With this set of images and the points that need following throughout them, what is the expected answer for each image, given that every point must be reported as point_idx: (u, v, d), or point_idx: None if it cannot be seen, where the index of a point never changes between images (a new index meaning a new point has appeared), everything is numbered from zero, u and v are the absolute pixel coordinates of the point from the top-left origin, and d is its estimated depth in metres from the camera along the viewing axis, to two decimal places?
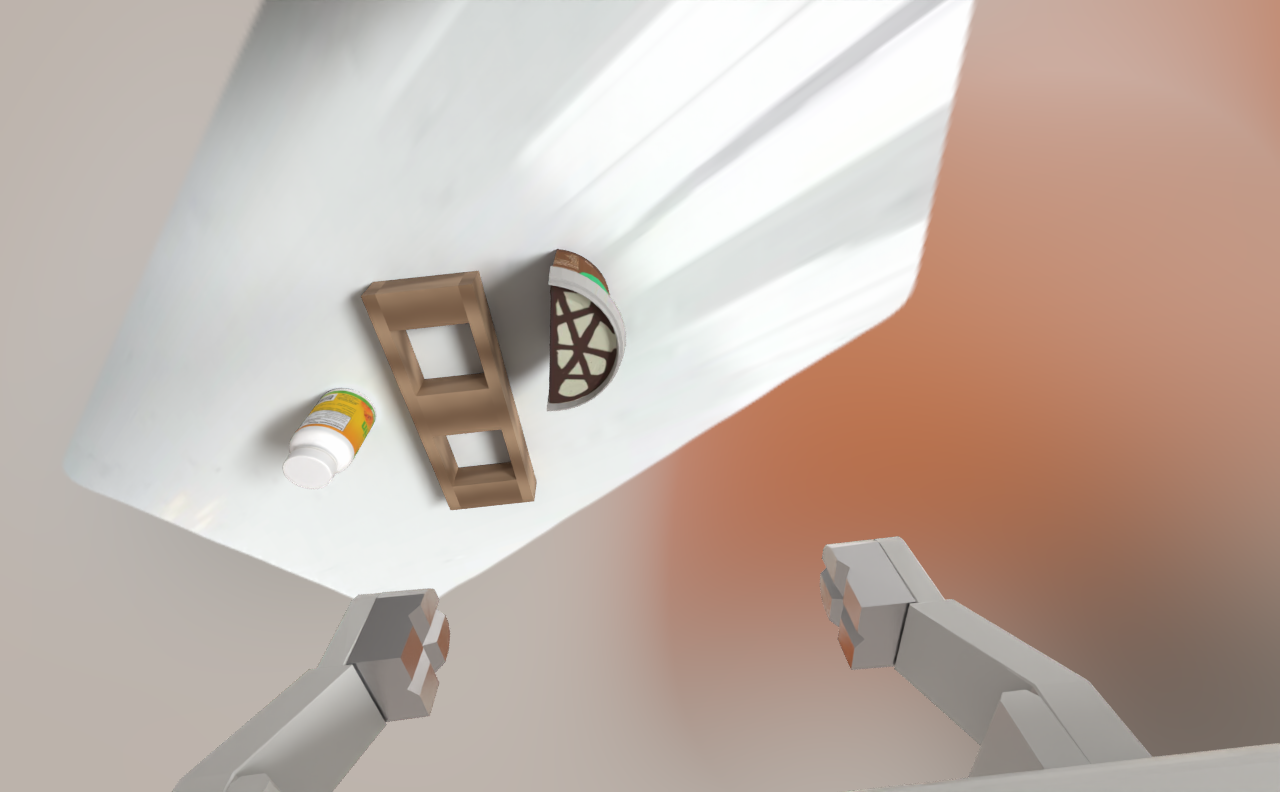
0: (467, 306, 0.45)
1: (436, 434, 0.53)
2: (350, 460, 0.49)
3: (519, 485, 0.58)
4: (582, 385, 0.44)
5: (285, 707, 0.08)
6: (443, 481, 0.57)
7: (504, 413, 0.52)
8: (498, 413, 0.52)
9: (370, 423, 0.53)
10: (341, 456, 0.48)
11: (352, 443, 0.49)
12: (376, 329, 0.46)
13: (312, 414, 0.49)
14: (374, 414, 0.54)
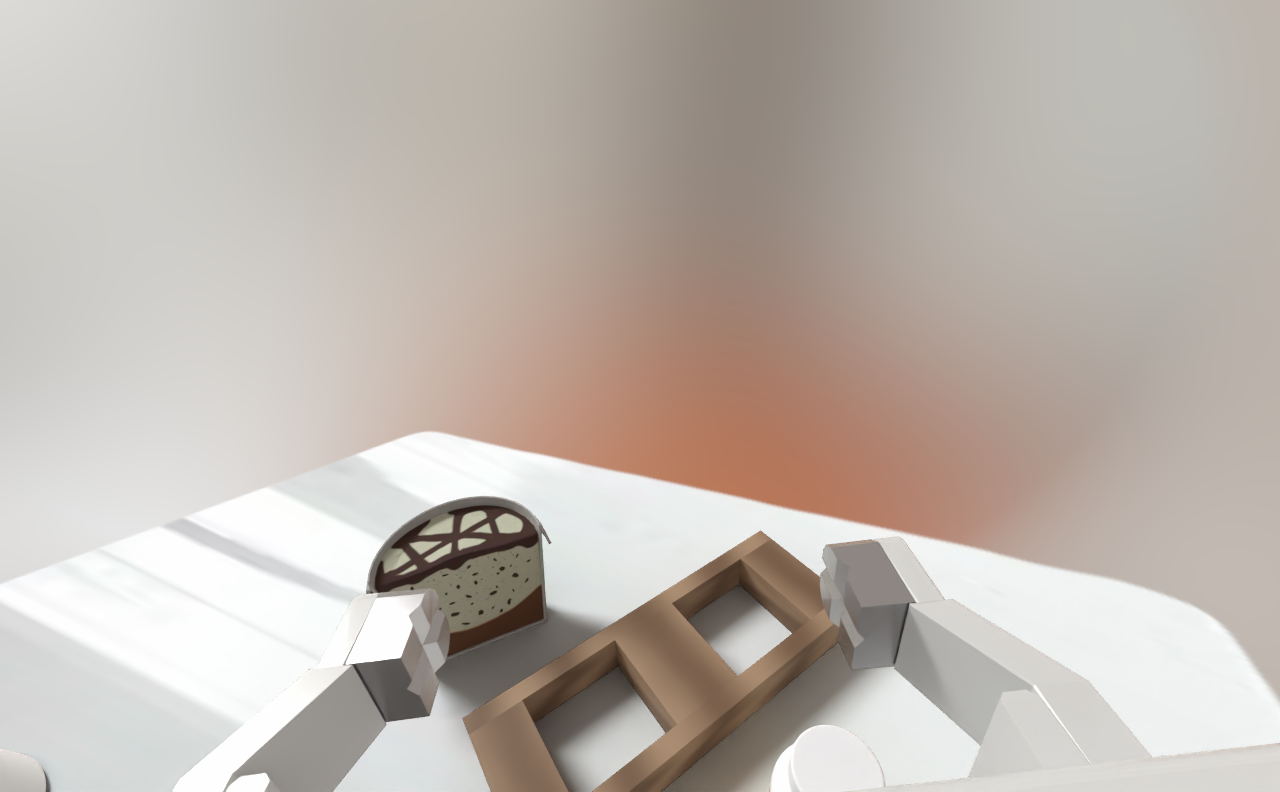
0: (497, 711, 0.33)
1: (729, 672, 0.34)
2: None
3: (747, 552, 0.43)
4: (503, 518, 0.39)
5: (285, 707, 0.08)
6: (809, 633, 0.36)
7: (645, 608, 0.39)
8: (648, 615, 0.38)
9: None
10: None
11: None
12: None
13: None
14: None
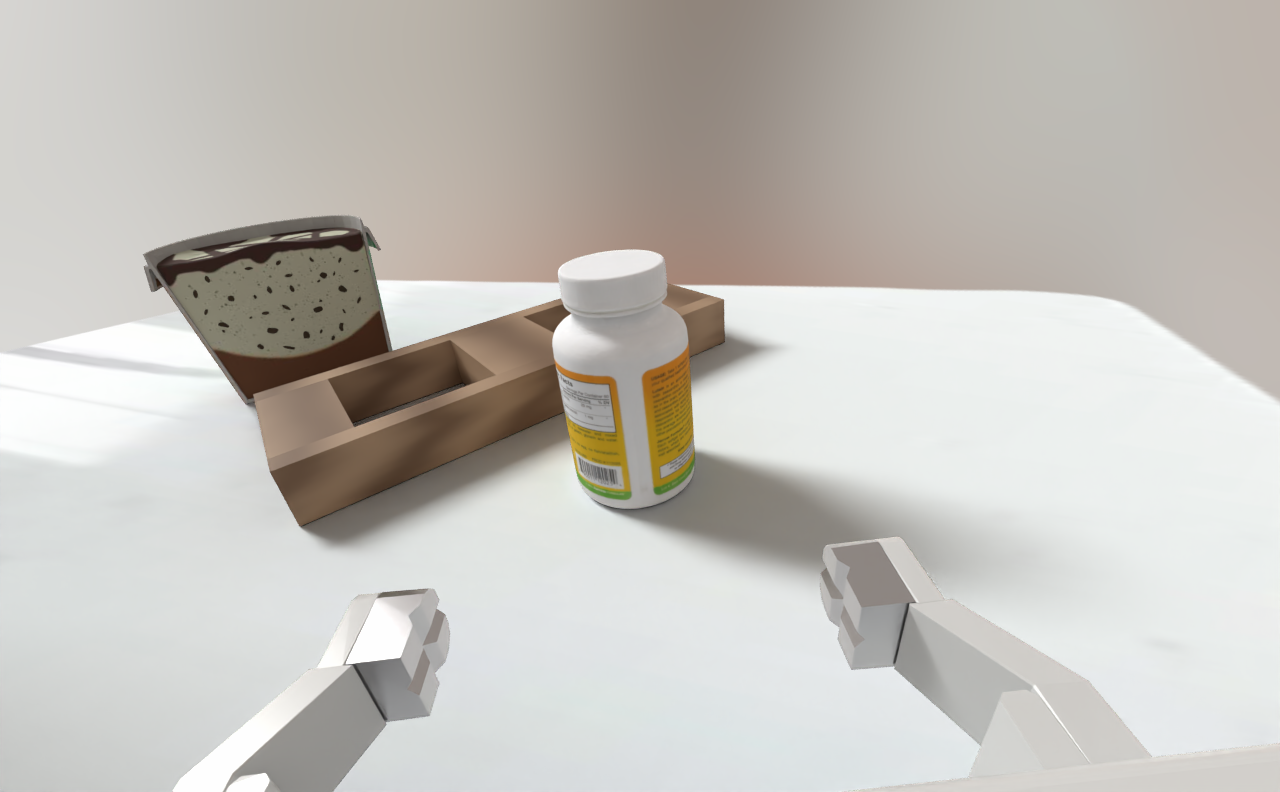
0: (295, 387, 0.29)
1: None
2: None
3: None
4: (329, 232, 0.35)
5: (285, 707, 0.08)
6: None
7: (492, 322, 0.35)
8: (494, 324, 0.34)
9: None
10: None
11: None
12: (351, 439, 0.23)
13: (584, 420, 0.20)
14: None
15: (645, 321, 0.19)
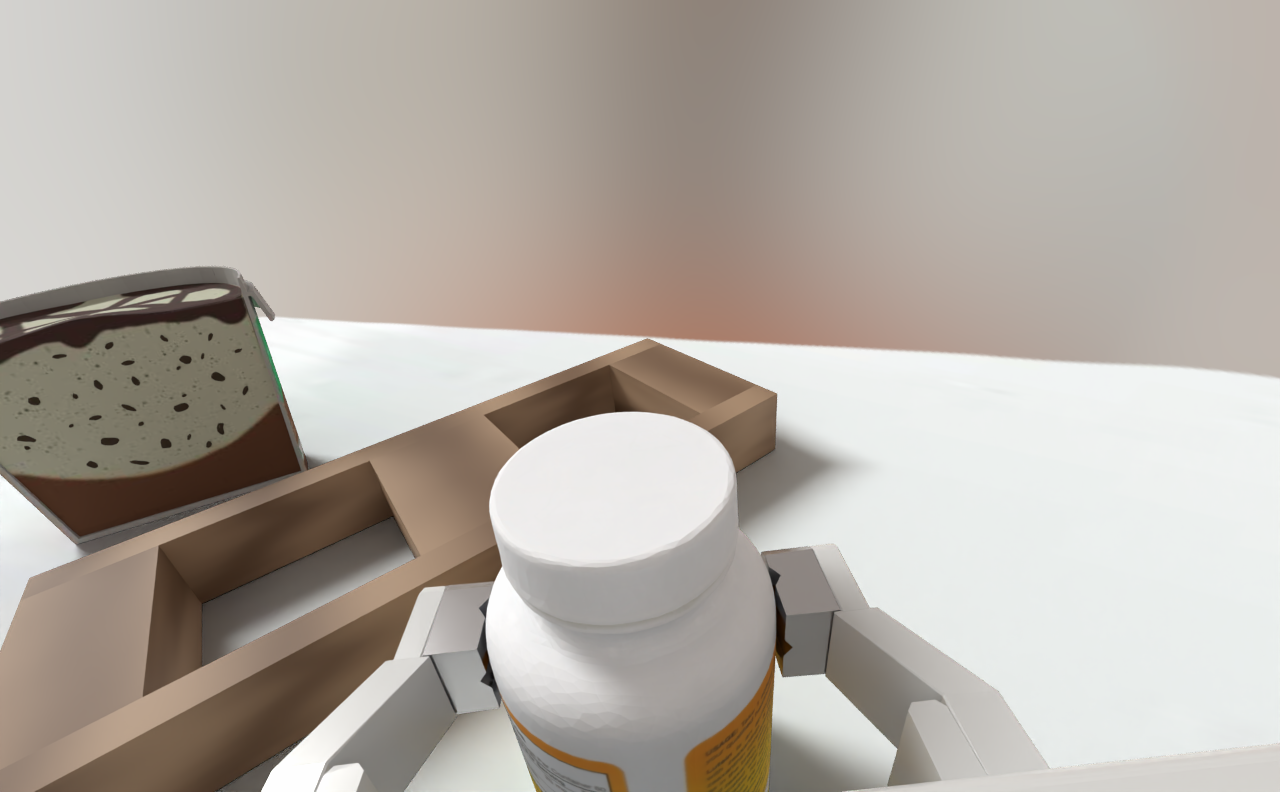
0: (101, 563, 0.18)
1: None
2: None
3: (621, 358, 0.28)
4: (203, 291, 0.24)
5: (368, 698, 0.08)
6: None
7: (438, 423, 0.24)
8: (439, 430, 0.23)
9: None
10: None
11: None
12: (122, 740, 0.12)
13: None
14: None
15: (693, 620, 0.08)
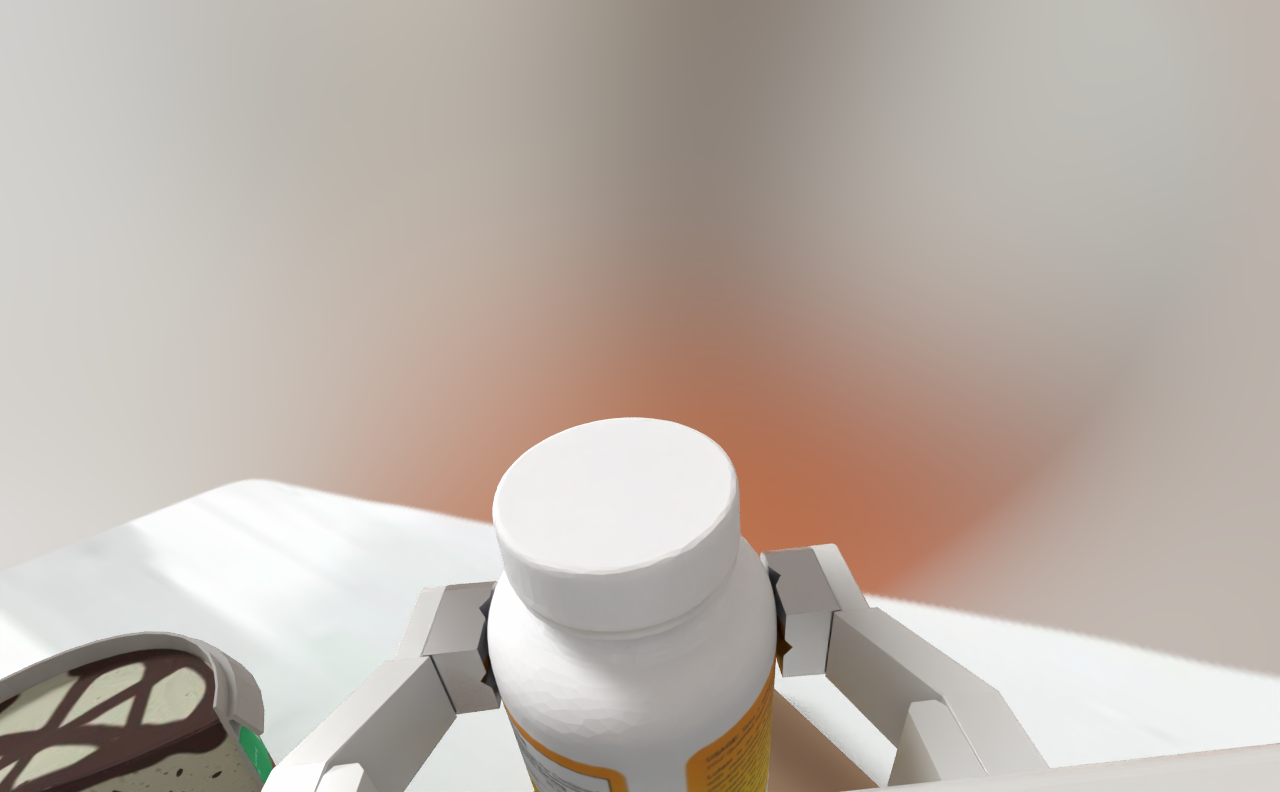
0: None
1: None
2: None
3: None
4: (172, 681, 0.19)
5: (368, 698, 0.08)
6: None
7: None
8: None
9: None
10: None
11: None
12: None
13: None
14: None
15: (694, 625, 0.08)
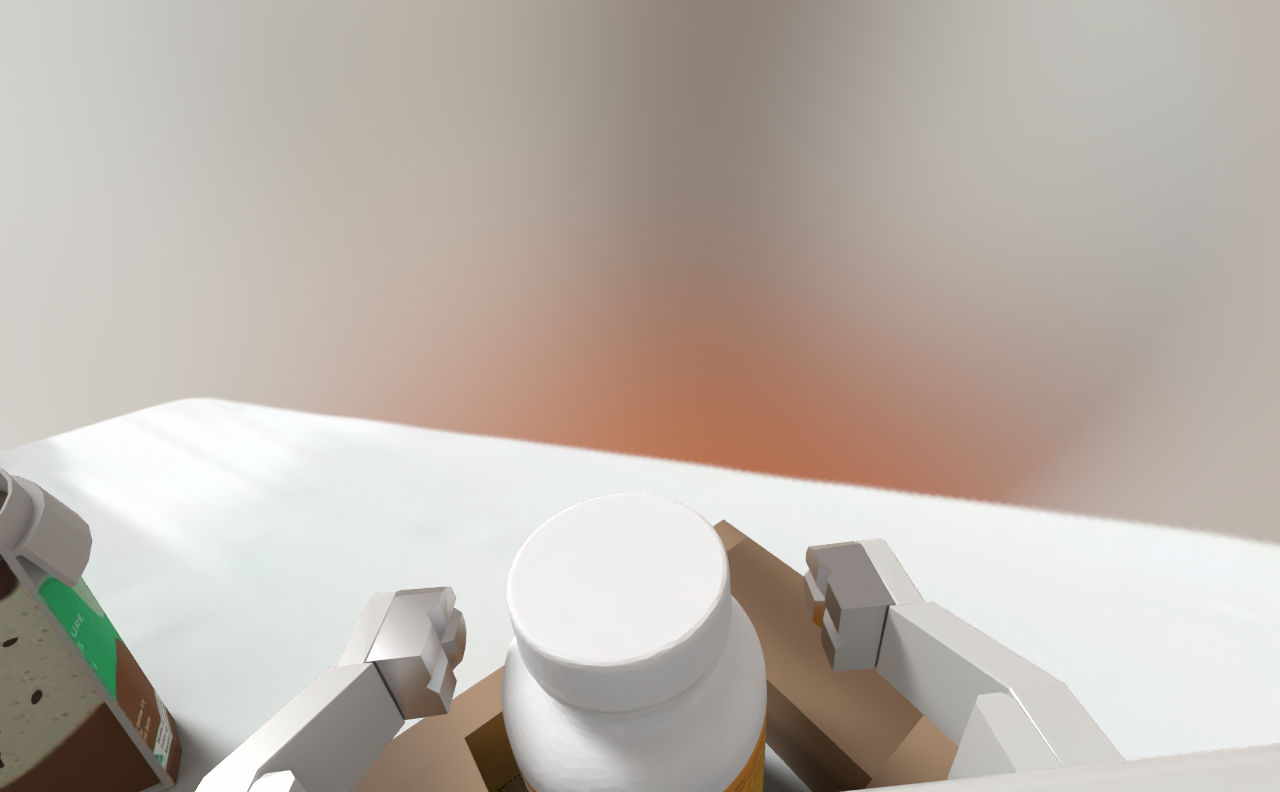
0: None
1: None
2: None
3: None
4: None
5: (307, 705, 0.08)
6: None
7: (382, 762, 0.13)
8: (382, 787, 0.13)
9: None
10: None
11: None
12: None
13: None
14: None
15: (690, 698, 0.09)
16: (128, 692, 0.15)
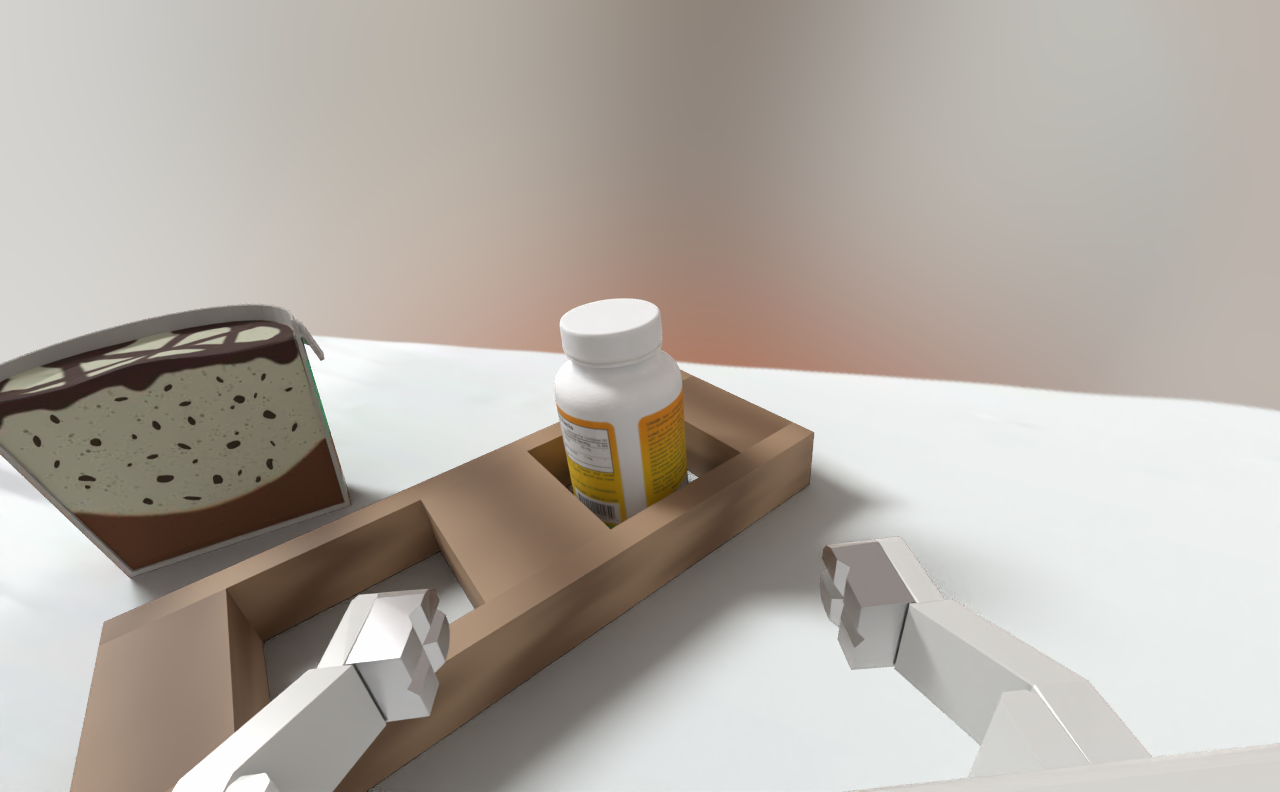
0: (172, 607, 0.18)
1: (597, 525, 0.20)
2: None
3: None
4: (253, 330, 0.25)
5: (285, 707, 0.08)
6: (738, 468, 0.22)
7: (483, 460, 0.24)
8: (485, 467, 0.24)
9: None
10: None
11: None
12: None
13: (584, 461, 0.21)
14: None
15: (641, 370, 0.20)
16: (332, 439, 0.26)
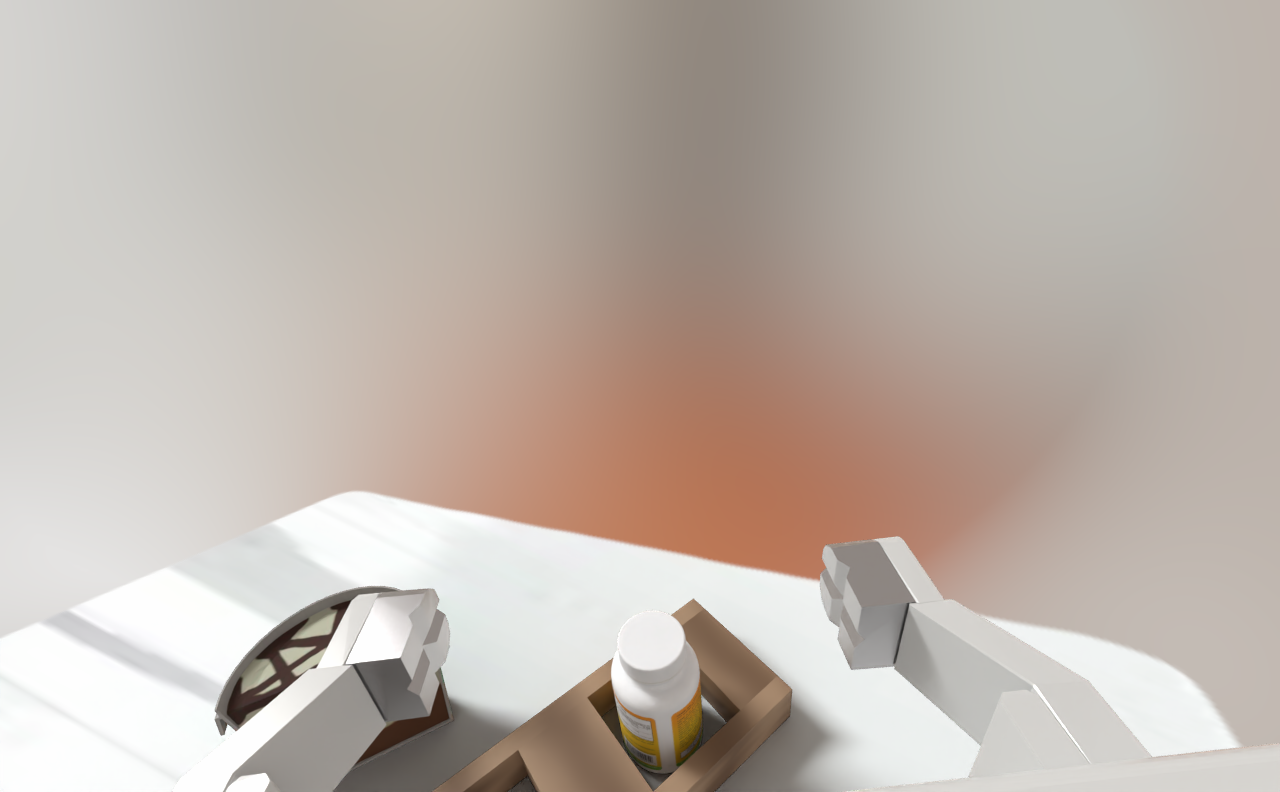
0: None
1: (644, 786, 0.30)
2: None
3: None
4: None
5: (285, 707, 0.08)
6: (738, 728, 0.32)
7: (556, 706, 0.34)
8: (559, 715, 0.34)
9: None
10: None
11: None
12: None
13: (632, 730, 0.31)
14: None
15: (673, 679, 0.30)
16: None
